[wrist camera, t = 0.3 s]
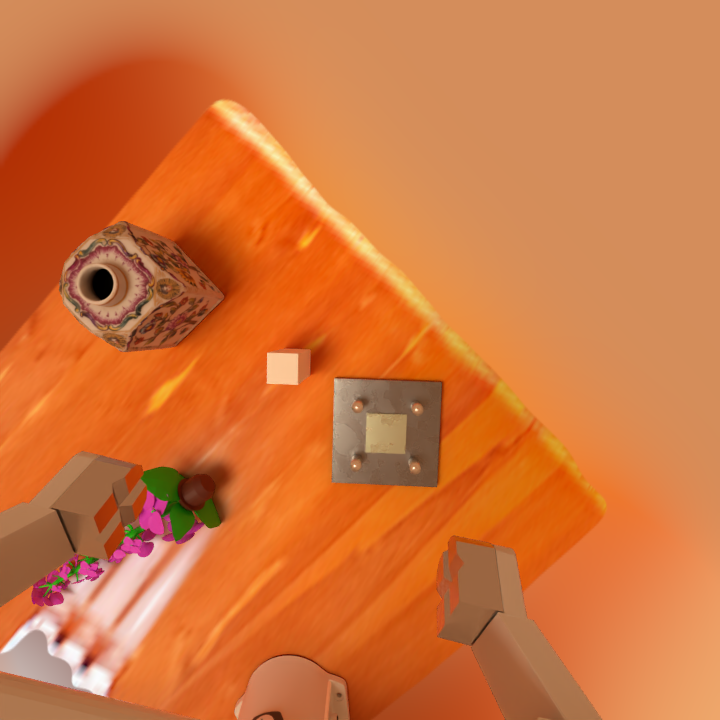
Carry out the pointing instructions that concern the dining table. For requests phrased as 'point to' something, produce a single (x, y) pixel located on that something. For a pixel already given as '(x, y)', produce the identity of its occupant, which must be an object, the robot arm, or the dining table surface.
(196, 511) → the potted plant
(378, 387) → the grey square base plate
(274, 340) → the dining table surface
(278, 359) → the post
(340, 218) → the dining table surface
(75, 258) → the decorative jar
